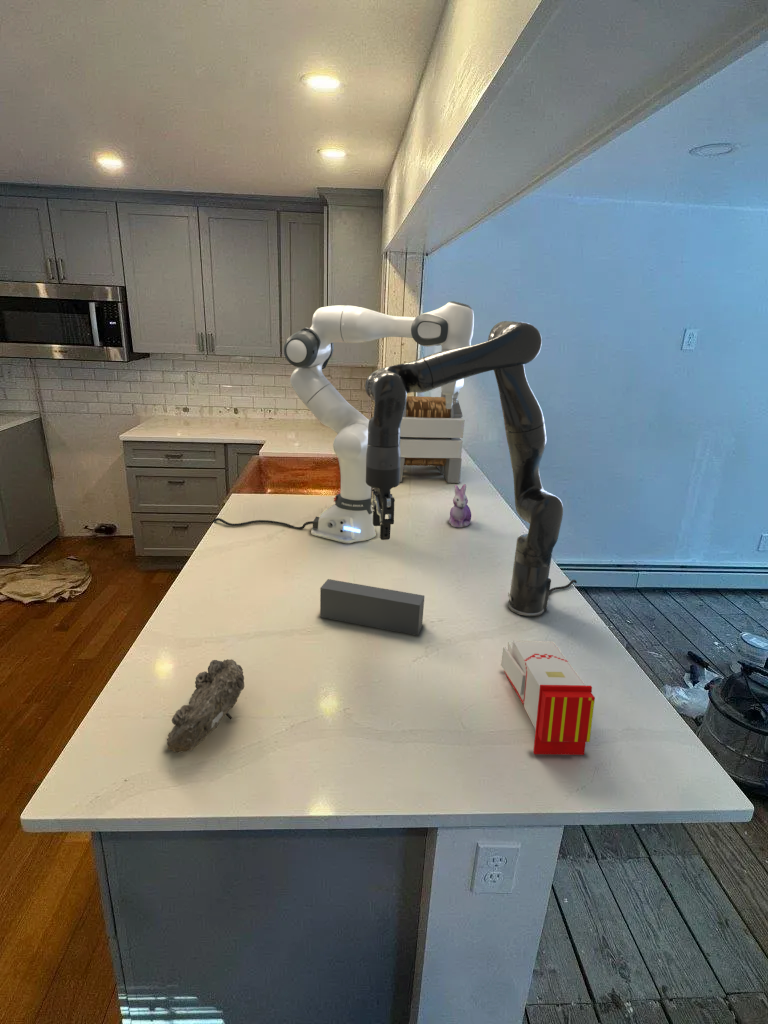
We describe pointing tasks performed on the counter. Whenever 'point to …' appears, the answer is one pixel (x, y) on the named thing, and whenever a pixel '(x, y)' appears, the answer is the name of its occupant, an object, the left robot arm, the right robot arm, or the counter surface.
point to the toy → (550, 696)
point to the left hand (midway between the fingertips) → (451, 406)
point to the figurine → (460, 508)
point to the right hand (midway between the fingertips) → (381, 532)
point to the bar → (372, 606)
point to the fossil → (206, 705)
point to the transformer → (432, 436)
